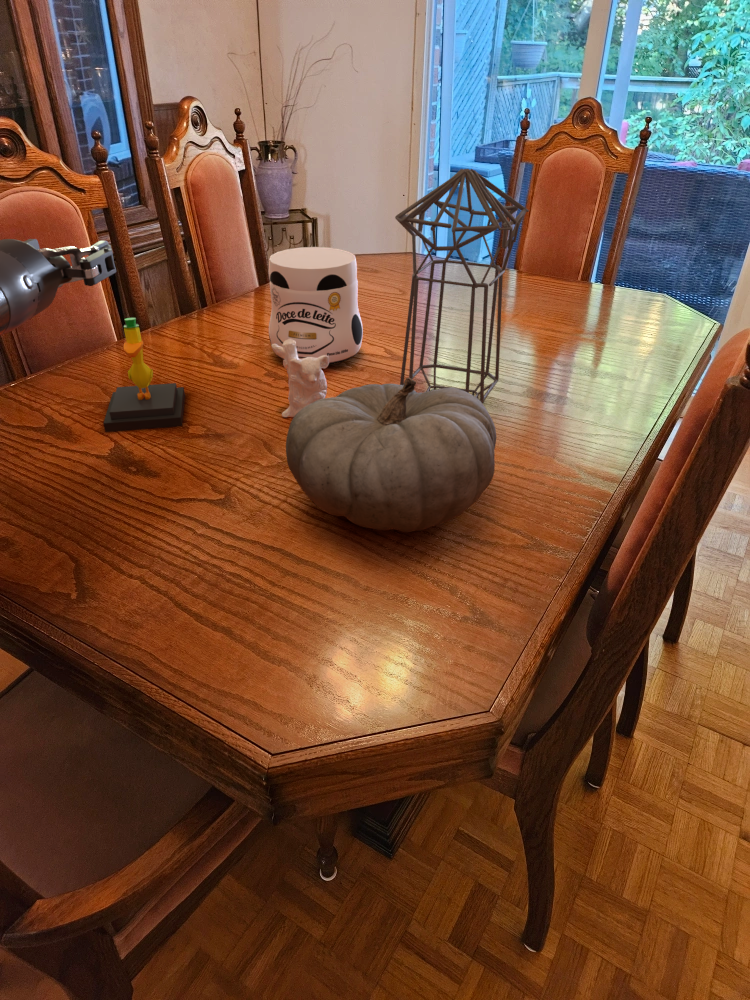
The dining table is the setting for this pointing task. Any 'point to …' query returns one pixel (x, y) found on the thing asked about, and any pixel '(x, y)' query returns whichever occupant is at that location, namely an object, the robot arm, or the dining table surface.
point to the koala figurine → (302, 377)
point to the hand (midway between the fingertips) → (71, 248)
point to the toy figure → (137, 358)
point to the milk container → (315, 302)
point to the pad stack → (145, 408)
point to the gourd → (393, 454)
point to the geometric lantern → (484, 197)
